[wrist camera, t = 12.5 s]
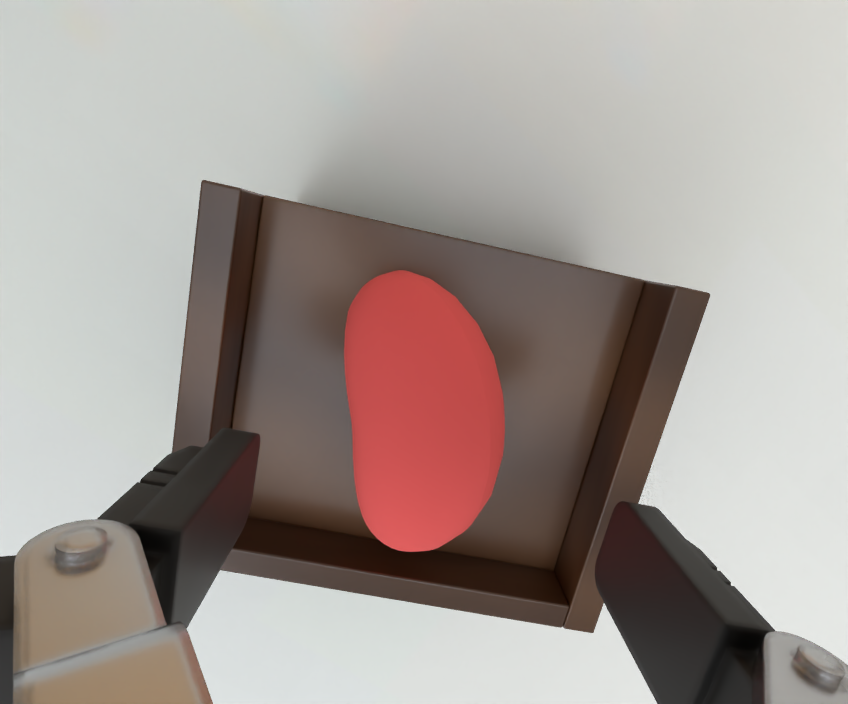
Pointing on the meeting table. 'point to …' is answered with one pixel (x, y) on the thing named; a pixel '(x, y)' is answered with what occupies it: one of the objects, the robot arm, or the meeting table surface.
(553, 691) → the meeting table surface
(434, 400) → the red rounded oblong piece
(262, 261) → the rack
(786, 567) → the meeting table surface
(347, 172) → the meeting table surface
